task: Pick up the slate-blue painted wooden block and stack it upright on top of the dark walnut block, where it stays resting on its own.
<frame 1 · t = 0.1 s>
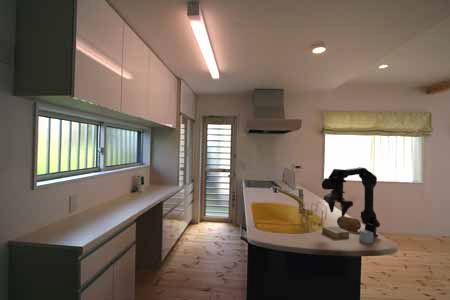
hand: (337, 214, 146), 15 cm above the countertop, tool pointing down, fingers open, 9 cm apart
walnut block: (335, 235, 151), on the countertop
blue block: (366, 241, 141), on the countertop
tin: (348, 229, 164), on the countertop
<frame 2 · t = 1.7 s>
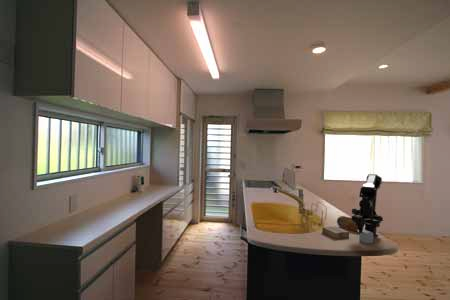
hand: (366, 232, 142), 5 cm above the countertop, tool pointing down, fingers open, 9 cm apart
nothing on the countertop moved.
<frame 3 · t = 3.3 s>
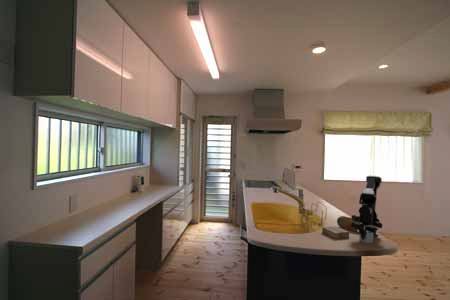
hand: (366, 239, 141), 1 cm above the countertop, tool pointing down, fingers closed on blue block, 5 cm apart
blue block: (366, 241, 141), on the countertop, touching gripper
everything else where it was.
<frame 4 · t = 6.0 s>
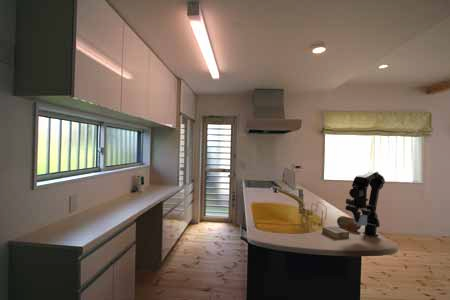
hand: (360, 222, 143), 11 cm above the countertop, tool pointing down, fingers closed on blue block, 5 cm apart
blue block: (360, 224, 143), point 10 cm above the countertop, touching gripper
everything else where it was.
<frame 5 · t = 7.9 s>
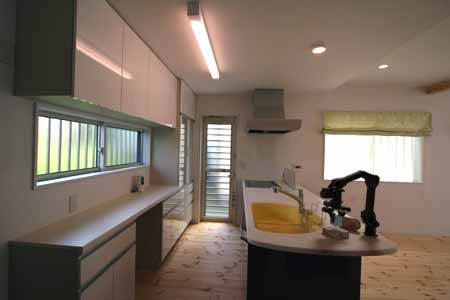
hand: (335, 222, 151), 8 cm above the countertop, tool pointing down, fingers closed on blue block, 5 cm apart
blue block: (335, 224, 150), point 7 cm above the countertop, touching gripper
everything else where it was.
when the fingers open (6 cm above the countertop, at t = 9.0 s): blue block drops 1 cm, resting on walnut block.
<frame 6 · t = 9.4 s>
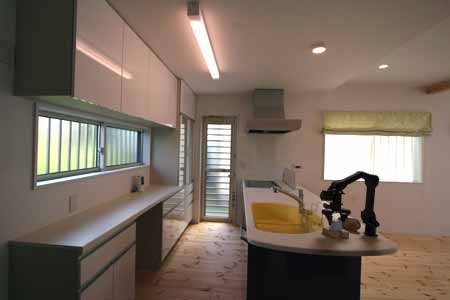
hand: (335, 225, 151), 6 cm above the countertop, tool pointing down, fingers open, 9 cm apart
walnut block: (335, 235, 151), on the countertop, touching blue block
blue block: (335, 229, 150), point 4 cm above the countertop, touching walnut block
everything else where it was.
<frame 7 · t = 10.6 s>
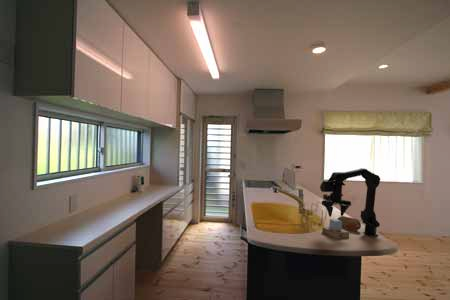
hand: (335, 216, 151), 12 cm above the countertop, tool pointing down, fingers open, 9 cm apart
nothing on the countertop moved.
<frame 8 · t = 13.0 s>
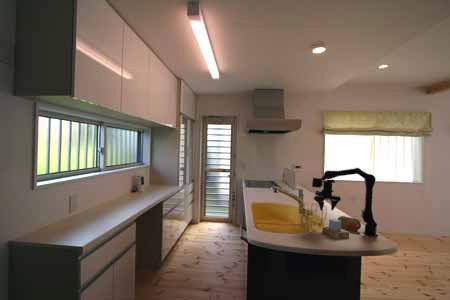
hand: (326, 210, 165), 12 cm above the countertop, tool pointing down, fingers open, 9 cm apart
nothing on the countertop moved.
at the end: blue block inside the target area on the walnut block (0.5 cm from its centre), point 4.0 cm above the walnut block's base; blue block tilted 0°; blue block touching walnut block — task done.
